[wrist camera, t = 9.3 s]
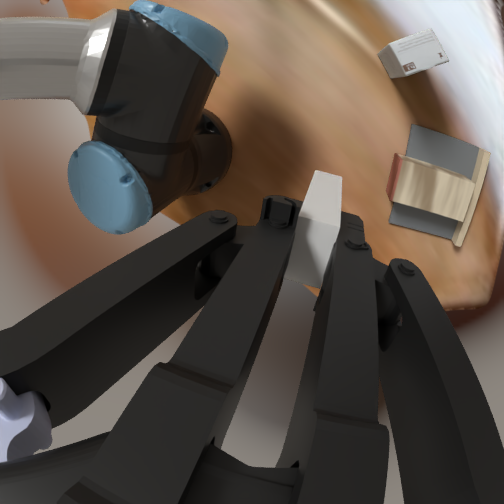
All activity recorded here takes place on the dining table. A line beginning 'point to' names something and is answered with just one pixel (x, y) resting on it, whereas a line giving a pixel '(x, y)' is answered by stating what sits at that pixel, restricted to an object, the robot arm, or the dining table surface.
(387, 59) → the skincare box
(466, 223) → the slate mat
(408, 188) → the beech block
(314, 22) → the dining table surface
